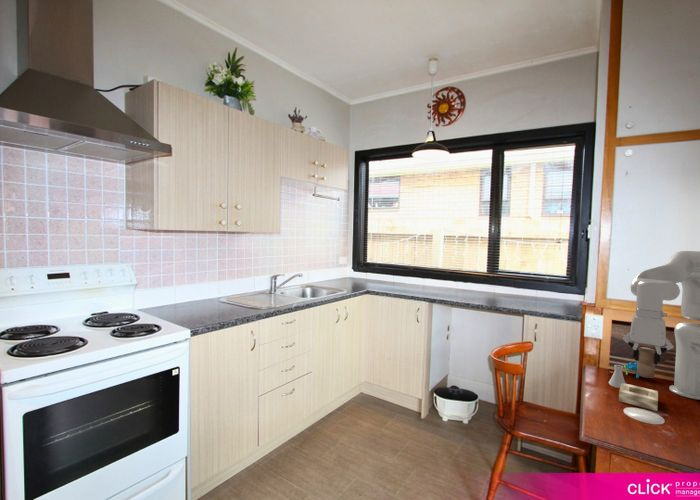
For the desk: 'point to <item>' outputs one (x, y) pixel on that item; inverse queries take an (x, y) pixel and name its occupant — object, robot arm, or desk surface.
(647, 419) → the white round dome
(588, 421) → the desk surface
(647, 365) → the walnut peg
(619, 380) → the flask
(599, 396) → the desk surface
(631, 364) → the blue toy figure
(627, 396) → the birch holder
